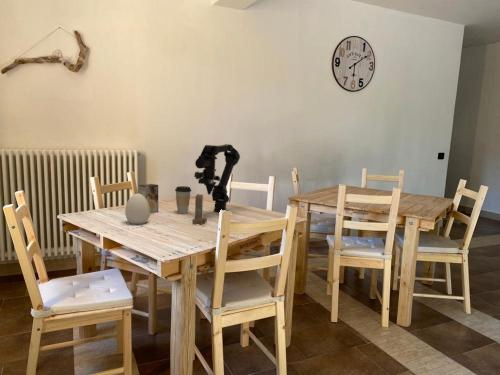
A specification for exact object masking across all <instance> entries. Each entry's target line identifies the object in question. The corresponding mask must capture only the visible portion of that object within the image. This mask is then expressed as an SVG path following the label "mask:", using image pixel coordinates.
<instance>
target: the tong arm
mask: <svg viewBox="0 0 500 375" xmlns="http://www.w3.org/2000/svg"><path fill="white" fill-rule="evenodd" d="M196 196H202V205H201V218H202V217H203V207H204V205H203V202H204V194H199V193H198V194H196V195H195V197H196Z"/></svg>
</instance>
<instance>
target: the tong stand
mask: <svg viewBox="0 0 500 375" xmlns="http://www.w3.org/2000/svg"><path fill="white" fill-rule="evenodd" d="M194 200H195V203H194V206H195V209H194V215H195V216H194V218H192V225H196V224H199V225H198V226H203V225H204V224H206V223H207V221H208V220H207V218H208V217H203V216H202V218H201V205H202V196H196V195H195V199H194ZM205 222H206V223H205ZM203 223H204V224H203Z"/></svg>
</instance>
